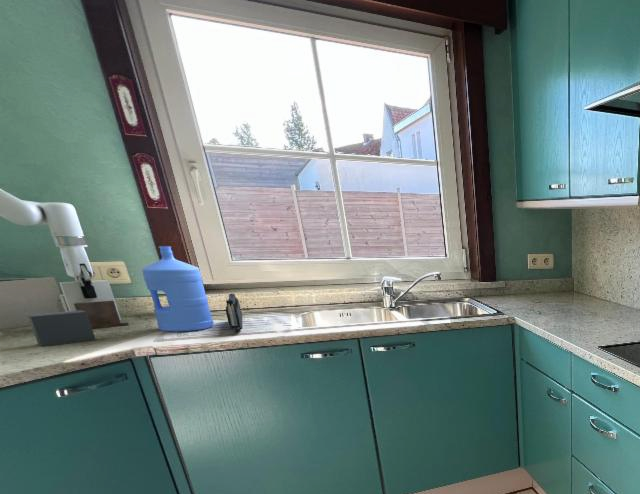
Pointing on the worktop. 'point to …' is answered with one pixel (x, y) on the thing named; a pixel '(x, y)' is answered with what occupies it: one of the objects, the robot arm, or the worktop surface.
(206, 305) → the water jug
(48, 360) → the worktop surface
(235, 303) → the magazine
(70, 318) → the dark grey rectangular block
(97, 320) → the book rack
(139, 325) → the worktop surface
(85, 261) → the robot arm
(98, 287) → the white book
